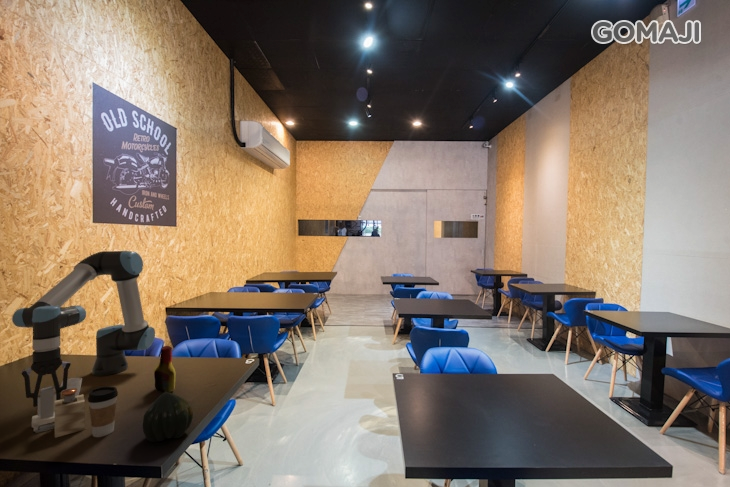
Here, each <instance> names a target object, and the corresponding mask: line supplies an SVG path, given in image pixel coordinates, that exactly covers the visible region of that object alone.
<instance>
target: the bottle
mask: <svg viewBox="0 0 730 487" xmlns="http://www.w3.org/2000/svg"><path fill="white" fill-rule="evenodd" d="M172 349H173V347H172V346H171V345H163V347H161V348H160V358H159V363H158V364H157V365H156V367H155V368H154V371H153V372H154V374H153V375H154V387H155V388H154V389H155V390H156V391H160V392H162V393H164V392H169V393H171V392H173V391H174V390H176V388H175V386H176V369H175V368H174V367H175V366H173V363H172V362H173V352H172V351H173V350H172Z"/></svg>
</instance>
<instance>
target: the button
mask: <svg viewBox="0 0 730 487" xmlns="http://www.w3.org/2000/svg"><path fill="white" fill-rule="evenodd" d="M76 392H77V389H76V388H71V389H67V390H64V391H61V395H62V396H63V399H64V404H68V403H72V402H75V393H76Z"/></svg>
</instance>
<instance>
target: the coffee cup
mask: <svg viewBox="0 0 730 487" xmlns="http://www.w3.org/2000/svg"><path fill="white" fill-rule="evenodd" d="M118 395H119V392H118V389H117V387H116V386H115V387H114V386H100V387H96V388H93V389H91V390H90V391H89V393H88V397H87V401H88V402H87V403H89V408H88V409H89V416H90V421H91V422H90V423H91V424H90V425H91V432H92V437H93V438H102V437H106V436H107V435H111V433H113V432H114V430H115V420H116V412H117V404H118V403H117V397H118Z"/></svg>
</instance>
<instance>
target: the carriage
mask: <svg viewBox="0 0 730 487" xmlns="http://www.w3.org/2000/svg"><path fill="white" fill-rule="evenodd" d="M54 388H55V387H54V385H52V386H46V387H42V388H41V387H40V389H39V392H40V394H39V395H40V413H41V416H38V415H37V414H36V415H32V418H31V428H33V432H35V430H38V429H39V426H40V425H44V424H48V423H51V422H55V412H54V392H55V390H54Z"/></svg>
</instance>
